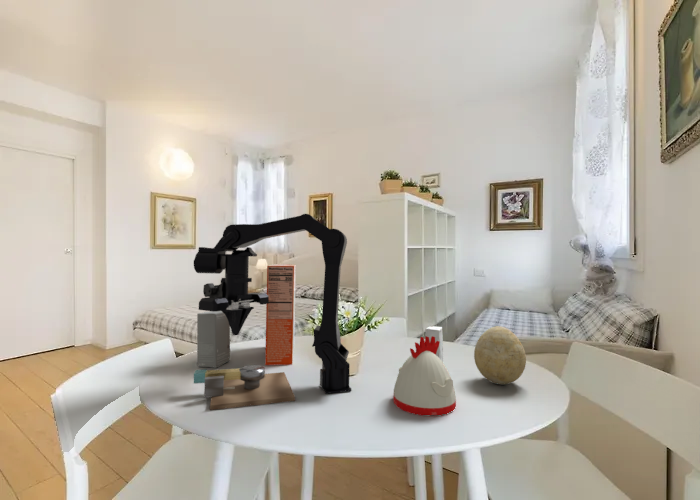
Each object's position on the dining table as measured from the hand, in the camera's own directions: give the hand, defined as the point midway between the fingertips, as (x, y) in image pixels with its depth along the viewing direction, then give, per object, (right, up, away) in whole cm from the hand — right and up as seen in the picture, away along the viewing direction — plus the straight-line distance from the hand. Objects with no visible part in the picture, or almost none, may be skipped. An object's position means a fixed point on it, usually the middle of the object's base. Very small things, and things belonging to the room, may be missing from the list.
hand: (235, 334), depth 92 cm
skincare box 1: (-12, -13, +17) cm, 24 cm away
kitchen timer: (+46, -13, -10) cm, 49 cm away
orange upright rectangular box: (+6, -14, +28) cm, 32 cm away
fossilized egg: (+69, -14, +3) cm, 71 cm away
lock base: (+5, -12, -4) cm, 14 cm away
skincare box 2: (+55, -14, +16) cm, 58 cm away
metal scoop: (+1, -9, -6) cm, 11 cm away
